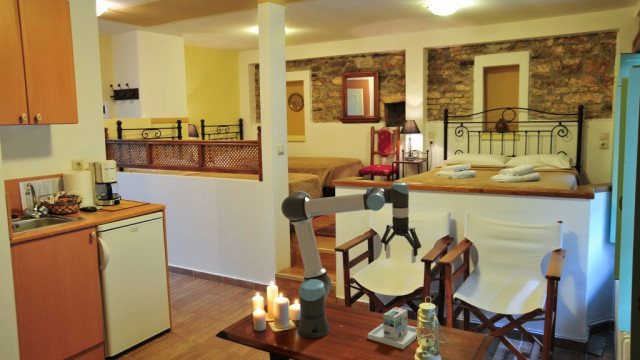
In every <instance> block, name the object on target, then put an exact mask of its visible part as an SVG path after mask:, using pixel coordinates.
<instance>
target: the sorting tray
mask: <svg viewBox="0 0 640 360" xmlns="http://www.w3.org/2000/svg"><path fill="white" fill-rule="evenodd" d="M416 328H417V326H412V325H408V332H407V333H406V334H404V335H403V336H401V337H400V338H398V339H397V340H393V339H390V338H387V337H384V329H383V323H381V324H380V325H378V326H377V327H375V328H374V329H372V330H371V331H370V332H368V333H367V340H368V339H369V340H372V341H375V342H378V343H381V344H385V345H388V346H392V347H394V348H398V349H400V350H404V349H405V348H407V347H408V346H409V345H410V344H412V343H413V342H414V341H415V340H416V339H417V338H416ZM406 346H407V347H406Z"/></svg>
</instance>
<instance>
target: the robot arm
mask: <svg viewBox="0 0 640 360" xmlns="http://www.w3.org/2000/svg"><path fill="white" fill-rule="evenodd" d="M409 192H410V191H409V184H408V183H407V182H393V183H392V184H391V187H375V186H372V187H367V188H366V191H365V193H357V194H356V193H355V194H349V195H348V194H346V195H337V196H329V197H327V196H326V197H319V198H312V196H310V195H309V194H308V193H307V192H305V191H301V190H299V191H295V192H292V193H290V195H288V196H287V197H285V198H284V200H283V201H282V203H281V206H280V207H281V212H282V215H283V216H284V217H285V219H287V220H289V223H290V224H292V225H293V226H294V230H295V234H296V238H297V242H298V247H299V250H300V255H301V259H302V263H303V267H304V273H303V276H302V277H303V280H304V281H302V282H301V284H300V285H299V291H298V294H299V311H300V317H299V320H298V324H297V326H296V327H297V328H296V329H297V332H296V333H297V334H298V335H299V336H300V337H302V338H306V339H318V338H323V337H325V336H327V335H328V334H329V333H330V323H329V322H328V319H327V316H326V299H327V298H328V296H329V293H330V292H331V290H332V280H331V277H330V275H328V272H327V269H326V268H325V267H323V265H322V260H321V256H320V252H319V247H318V243H317V240H316V235H315V231H314V228H313V227H314V226H313V223H312V220H313V218H314V217H315V216H322V215H324V216H325V215H332V214H341V213H350V212H351V213H352V212H360V211H370V210H371V211H372V212H373V211H374V212H377V211H380V210H382V209H383V207H384V206H385V205H386V204H391V207H392V212H391V213H392V214H391V215H392V219H391V221H392V224H391V223H389V224H387V225H386V227H385V231H384V234H383V235H382V238H381V239H380V243H381V244H383V245H384V252H385V259H389V258H391V244H390V242H391V241H392V240H393V238H394V237H395V236H399V237H403V238H404V239H406V240H407V242H408V243H409V245H410V246H411V248H412V249H411V264H415V263H417V256H418V250H419V249H421V248H422V244H421V241H420V240H419V238H418V235H417V232H416V227H409V224H410V223H409V221H410V219H409V212H410V211H409V209H410V208H409V199H410V198H409V197H410V196H409V194H410V193H409ZM391 230H393V231H392V232H391ZM390 232H391V234H390Z"/></svg>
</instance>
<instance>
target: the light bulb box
mask: <svg viewBox="0 0 640 360" xmlns="http://www.w3.org/2000/svg"><path fill="white" fill-rule="evenodd" d="M382 315H383V318H382V319H383V320H382V321H383V323H382V324H383V329H384V337H387V338H390V339H393V340H397V339H398V338H400V337H401V336H403V335H404V334H406V333H407V332H408V324H409V322H408V310H407V309H404V308H401V307H397V306H395V307H393V308H391V309H390V310H388V311H386V312H384V313H382Z"/></svg>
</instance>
